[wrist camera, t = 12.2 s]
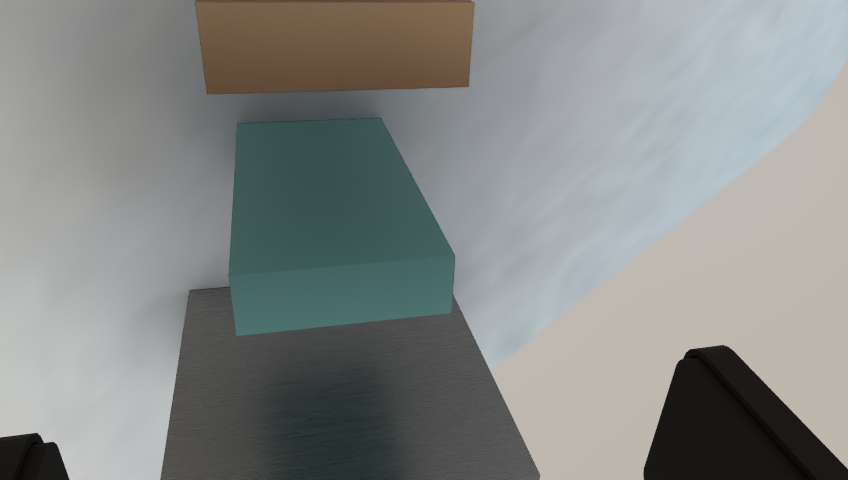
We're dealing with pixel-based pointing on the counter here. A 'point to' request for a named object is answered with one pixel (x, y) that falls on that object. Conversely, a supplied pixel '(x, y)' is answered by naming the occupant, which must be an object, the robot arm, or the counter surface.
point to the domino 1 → (334, 44)
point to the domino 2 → (330, 229)
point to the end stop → (337, 402)
